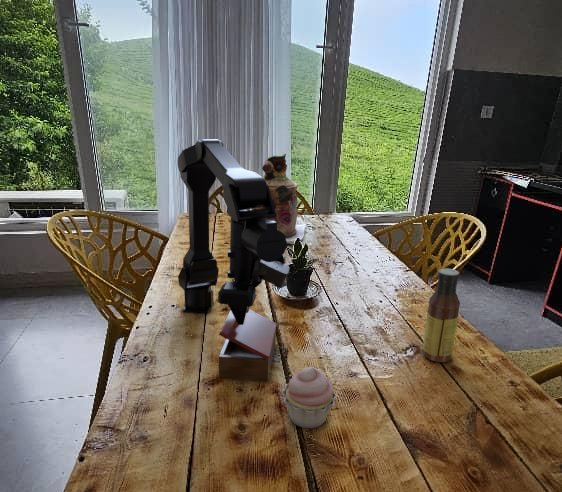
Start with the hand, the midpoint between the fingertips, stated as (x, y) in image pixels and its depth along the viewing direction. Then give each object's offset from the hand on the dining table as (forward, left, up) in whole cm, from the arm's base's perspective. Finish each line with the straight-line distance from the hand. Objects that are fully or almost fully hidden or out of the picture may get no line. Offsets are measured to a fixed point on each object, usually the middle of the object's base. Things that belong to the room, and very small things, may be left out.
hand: (243, 318), depth 89 cm
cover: (+1, 0, -3) cm, 3 cm away
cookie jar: (-4, +93, -10) cm, 94 cm away
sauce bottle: (+41, +8, -10) cm, 43 cm away
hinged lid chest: (+1, 0, -10) cm, 10 cm away
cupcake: (+14, -16, -10) cm, 24 cm away
